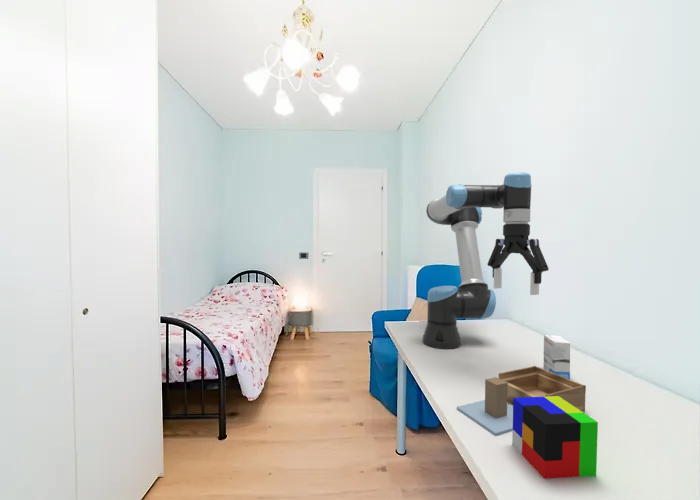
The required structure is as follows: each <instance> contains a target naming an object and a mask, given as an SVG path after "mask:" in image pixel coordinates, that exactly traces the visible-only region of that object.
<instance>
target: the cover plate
mask: <svg viewBox="0 0 700 500" xmlns="http://www.w3.org/2000/svg"><path fill="white" fill-rule="evenodd" d="M484 381H485V382H484V383H485V385H484V386H485V387H484V400H483V399H482V400H479V401H475V402H471V403H466V404H462V405H458V406H456V410H457V411H458V412H460V413H462V414H463V415H464V416H466V417H467V418H469V419H471V420H472V421H473V422H475V423H476V424H478V425H479V426H480V427H482V428H483V429H484V430H486V431H487V432H489V433H490V434H492V435H493V436H495V437H497V436H500V435H504V434H507V433H509V432H510V433H511V432H513V405H510V403H509V404H508V402H507V391H508V383H507V382H505V381H503V380H501V379H499V377H497V376H495V377H490V378H486V379H485V380H484Z"/></svg>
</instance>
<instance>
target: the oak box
mask: <svg viewBox="0 0 700 500" xmlns="http://www.w3.org/2000/svg"><path fill="white" fill-rule="evenodd" d="M498 378H499V379H501V380H503V381H505V382H507V383H508V391H507V403H509V404H511V406H513V398H520V397H548V396H559V397H561V398H562V399H564V400H565V401H567V402H568V403H570V404H571V405H573V406H574V407H576V408H577V409H579V410H580V411H582V412H583V413H585V411H586V389H587V387H586V386H587V385H585V384H583V383H580V382H577V381H574V380H572V379H571V378H570V379H567V378H565V377H562V376H559V375H557V374H554V373H552V372H549V371H547V370H544V369H543V368H541V367H539V366H536V365H533V366H529V367H523V368H519V369H513V370H508V371H504V372H499V373H498Z"/></svg>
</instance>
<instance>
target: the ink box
mask: <svg viewBox="0 0 700 500" xmlns="http://www.w3.org/2000/svg"><path fill="white" fill-rule="evenodd" d="M542 369H544V370H547V371H549V372H552V373H554V374H557V375H559V376H562V377H565V378H567V379H570V380H571V343H570V342H569V341H568V340H566V339H565V338H563V336H560V335H551V334H543V368H542Z"/></svg>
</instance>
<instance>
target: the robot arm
mask: <svg viewBox="0 0 700 500" xmlns="http://www.w3.org/2000/svg"><path fill="white" fill-rule="evenodd" d="M531 199H532V177H531V174H529V173H527V172H511V173H508V174H506V175H504V178H503V184H497V185H492V184H488V185H487V184H479V185H478V184H476V185H475V184H454V185H453V184H451V185H449V186H448V187H447V190H446V192H445V195H443V196H442V197H440V198H434V199H433V200H432V201H430V202H429V203H428V204H427V206H426V209H425V211H426V212H425V213H426V216H427V218H428V220H430V221H431V222H432V223H434V224H436V225H437V224H438V225H443V226H450V228H451V231H452V232H454V233H455V241H456V248H457V255H458V264H459V272H460V278H461V279H460V281H461V283H460V284H459V285H458V287H457V286H456V285H455V286H454V285H441V286H440V285H439V286H434V287H432V288H429V290H428V292H427V299H426V302H427V318H426V319H427V323H426V327H425V330H424V332H423V335H422V343H423V344H425V345H426V346H429V347H432V348H435V349H446V350H448V349H457V348H459V347H461V345H462V341H461V337H460V332H459V329H458V326H457V325H458V323H457V322H458V321H457V320H458V319H479V320H480V319H488V318H490V317H492V315H494V312H495V309H496V306H497V305H496V304H497V299H496V293H495V292H494V290H495V289H502V286H503V285H502V280H503V279H502V278H503V277H502V275H503V274H502V273H503V270H502V265H503V263H504V262H505V261H506V259H508V258H509V256H510V255H512V254H520V256H522V257H523V259H524V261H526V263H527V265H528V266H529V267H530V269H531V270H532V272H530V282H529V283H530V287H529V295H530V296H536V295H540V285H541V283H542V273H543V272H547V271H549V269H550V268H549V266H548V264H547V262H546V259H545V257H544V255H543V252H542V250H541V247H540V240H539V239H538V238H530V239H529V236H530V234H531V225H530V224H529V223H530V222H531V203H532V202H531V201H532V200H531ZM482 208H491V209H503V218H502V219H503V223H504V225H503V226H502V235H503V237H504V238H496V239H495V245H494V247H493V250H492V253H491V255H490V257H489V258H488V262H487V266H488V267H491V268H492V278H493V289H494V290H493V289H491V288H490V289H489V284H488V283H487V282H485V281H484V278H483V272H482V265H481V259H480V251H479V247H478V246H479V245H478V238H477V233H476V232H477V229H478V228H479V225H480V224H481V222H482V218H483V217H482V215H483V213H482V212H483V211H482Z"/></svg>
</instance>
